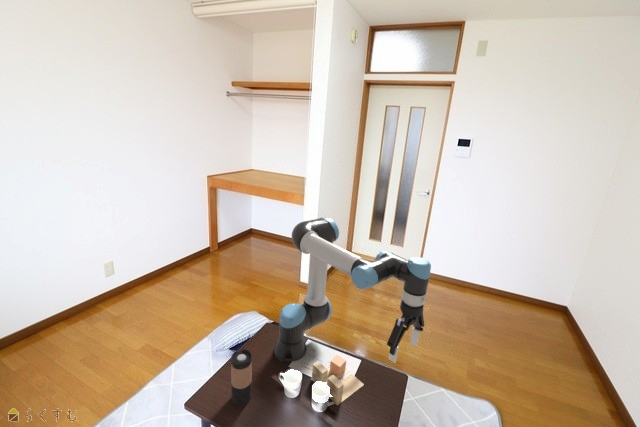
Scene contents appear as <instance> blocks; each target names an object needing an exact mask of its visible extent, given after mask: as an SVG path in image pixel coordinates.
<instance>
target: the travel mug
mask: <svg viewBox="0 0 640 427" xmlns="http://www.w3.org/2000/svg"><path fill="white" fill-rule="evenodd" d="M252 360H253V359H252V352H251V351H249V350H247V349H242V350H239V351H238V350H236V351H234V352H233V353H232V354H231V357H230V385H231V386H230V387H231V401H232V403H233V404H234V406H237V407H241V406H246V405H247V404H248V403H249V402H250V400H251V397H252V380H253V379H252V378H253V376H252V374H253V373H252V372H253V371H252V370H253V366H252V364H253V363H252Z"/></svg>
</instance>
